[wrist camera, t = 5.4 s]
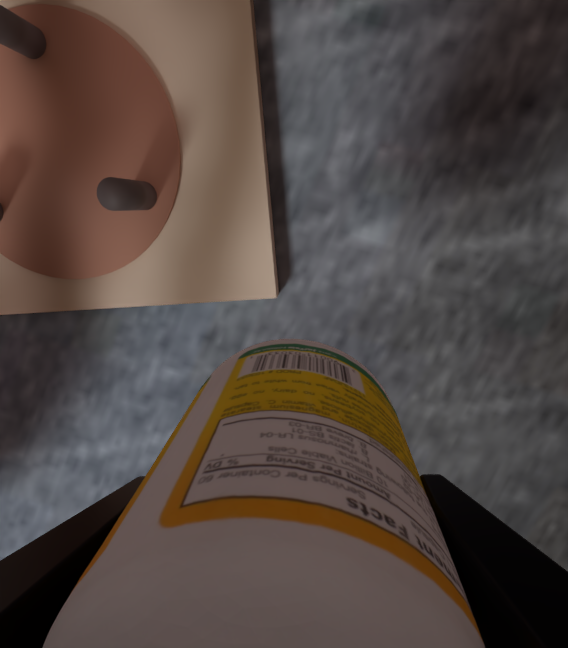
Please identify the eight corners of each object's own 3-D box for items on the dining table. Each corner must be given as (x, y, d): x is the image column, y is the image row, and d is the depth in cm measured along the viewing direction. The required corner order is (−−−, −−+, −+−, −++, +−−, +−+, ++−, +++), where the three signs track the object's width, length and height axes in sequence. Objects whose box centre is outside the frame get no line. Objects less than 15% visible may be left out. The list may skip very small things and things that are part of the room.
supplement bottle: (321, 293, 10) (400, 1026, 1) (432, 458, 11) (985, 1600, 2) (152, 403, 11) (-538, 1244, 2) (267, 546, 12) (131, 1555, 3)
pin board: (-61, 314, 22) (-141, 337, 19) (-153, 7, 19) (-277, -44, 15) (278, 293, 20) (267, 314, 16) (248, -59, 17) (223, -138, 13)
